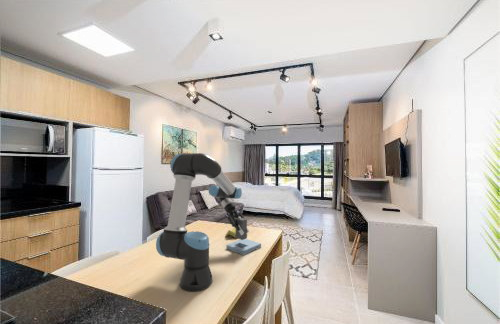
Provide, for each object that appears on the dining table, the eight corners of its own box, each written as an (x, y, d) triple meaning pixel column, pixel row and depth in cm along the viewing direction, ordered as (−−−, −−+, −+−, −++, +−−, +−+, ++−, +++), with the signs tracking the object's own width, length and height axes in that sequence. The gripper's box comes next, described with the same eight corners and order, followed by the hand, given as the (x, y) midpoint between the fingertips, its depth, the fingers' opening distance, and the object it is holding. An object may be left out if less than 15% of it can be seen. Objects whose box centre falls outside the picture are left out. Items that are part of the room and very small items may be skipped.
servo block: (242, 239, 145) (242, 218, 145) (235, 237, 149) (235, 217, 149) (246, 238, 148) (246, 217, 148) (240, 236, 152) (240, 216, 152)
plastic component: (238, 235, 168) (227, 229, 171) (234, 243, 170) (224, 236, 173) (247, 227, 187) (238, 221, 190) (244, 234, 188) (235, 228, 191)
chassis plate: (243, 255, 138) (243, 251, 138) (226, 248, 149) (226, 244, 149) (261, 247, 152) (261, 243, 152) (244, 241, 162) (244, 238, 162)
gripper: (234, 206, 165) (250, 233, 154) (216, 210, 152) (233, 239, 141) (239, 200, 162) (256, 227, 151) (221, 203, 148) (239, 233, 138)
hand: (245, 233), depth 146 cm, fingers closed on servo block, 4 cm apart
